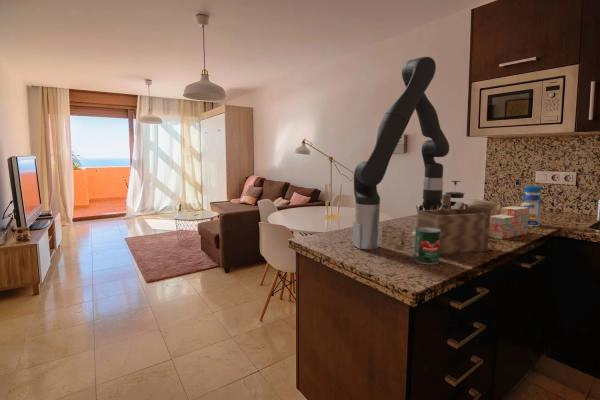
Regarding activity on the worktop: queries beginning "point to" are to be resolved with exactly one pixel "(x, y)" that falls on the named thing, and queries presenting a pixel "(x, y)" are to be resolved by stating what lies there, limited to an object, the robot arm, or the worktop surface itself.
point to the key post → (487, 222)
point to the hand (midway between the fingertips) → (430, 228)
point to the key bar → (484, 204)
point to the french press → (456, 196)
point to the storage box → (456, 229)
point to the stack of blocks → (509, 222)
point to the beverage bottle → (532, 204)
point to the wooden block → (447, 199)
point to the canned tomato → (427, 245)
